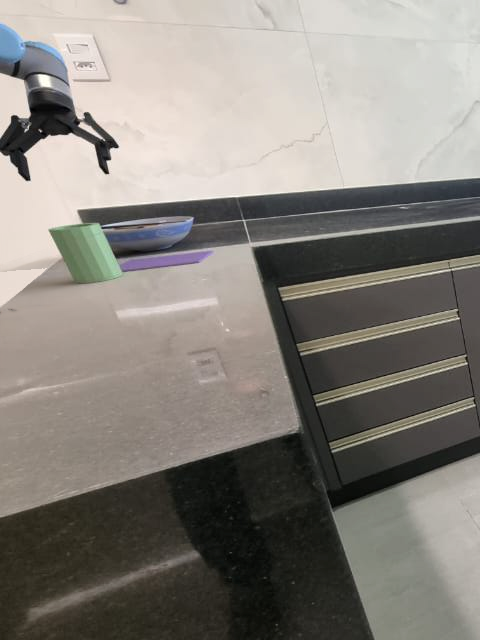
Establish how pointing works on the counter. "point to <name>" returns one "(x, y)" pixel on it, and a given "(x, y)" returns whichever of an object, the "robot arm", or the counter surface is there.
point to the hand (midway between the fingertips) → (65, 173)
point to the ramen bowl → (148, 233)
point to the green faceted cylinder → (86, 252)
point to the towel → (164, 261)
